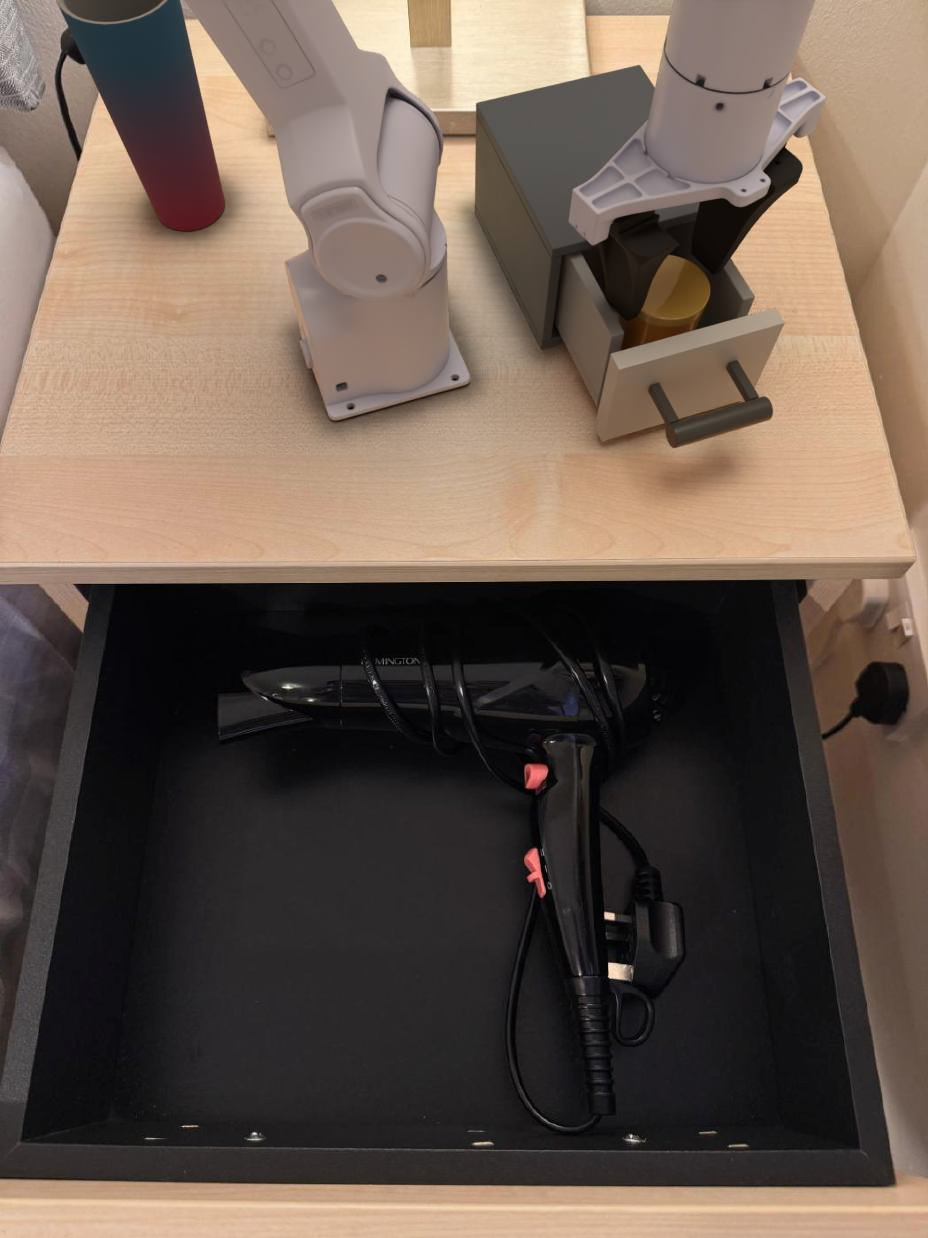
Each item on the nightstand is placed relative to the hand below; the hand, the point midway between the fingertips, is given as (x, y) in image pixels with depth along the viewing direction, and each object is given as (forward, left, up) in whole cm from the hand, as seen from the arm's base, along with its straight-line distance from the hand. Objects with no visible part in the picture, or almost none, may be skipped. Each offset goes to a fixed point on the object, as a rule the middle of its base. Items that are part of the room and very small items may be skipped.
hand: (664, 284), depth 51 cm
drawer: (0, -1, -6) cm, 6 cm away
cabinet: (0, +10, -7) cm, 13 cm away
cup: (-25, +24, -7) cm, 36 cm away
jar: (0, 0, -5) cm, 5 cm away
